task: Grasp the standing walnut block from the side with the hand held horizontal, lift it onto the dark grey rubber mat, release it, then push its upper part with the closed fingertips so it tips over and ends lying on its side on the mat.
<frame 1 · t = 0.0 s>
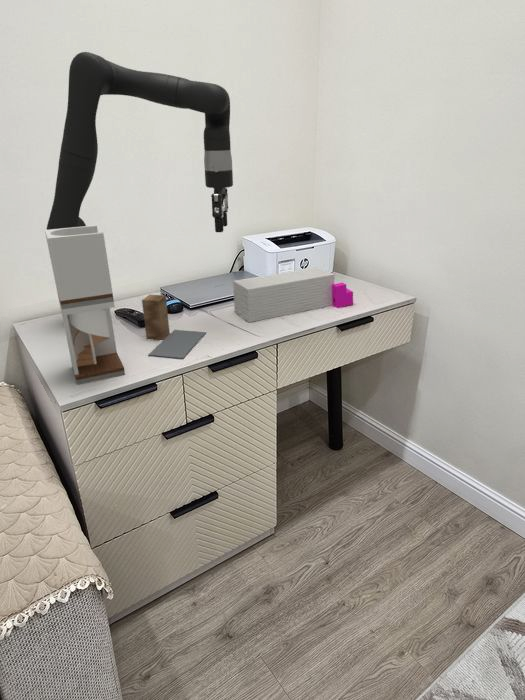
hand: (221, 229, 138), 29 cm above the table, tool pointing down, fingers open, 8 cm apart
walnut block: (158, 336, 143), on the table
toy block: (334, 300, 170), on the table, touching long grey block
rubber mat: (178, 344, 138), on the table
long grey block: (284, 309, 163), on the table, touching toy block
white open-top tower: (98, 371, 123), on the table
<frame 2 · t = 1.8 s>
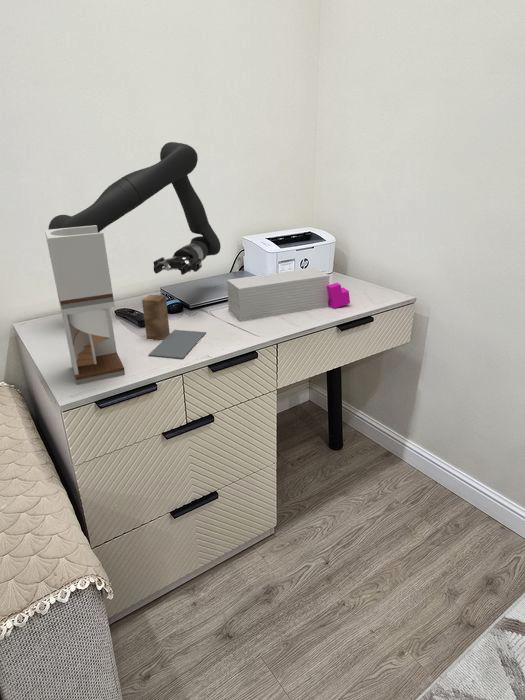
hand: (168, 270, 146), 17 cm above the table, tool horizontal, fingers open, 8 cm apart
toy block: (332, 299, 169), on the table, touching long grey block
long grey block: (278, 309, 163), on the table, touching toy block
everything else where it was.
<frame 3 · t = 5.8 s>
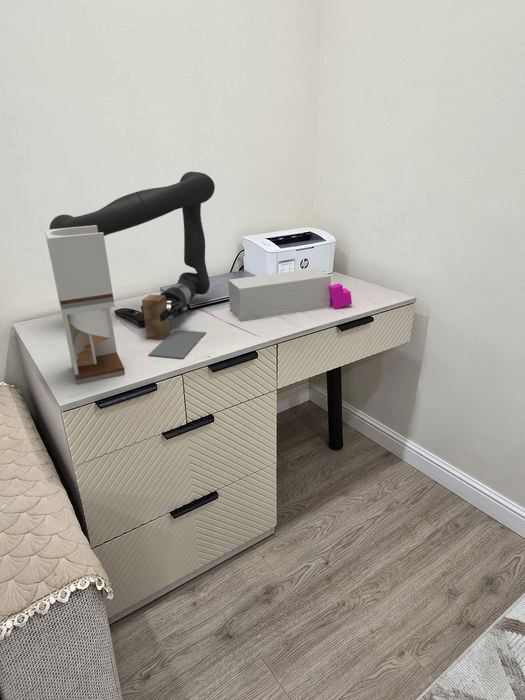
hand: (152, 317, 138), 7 cm above the table, tool horizontal, fingers closed on walnut block, 5 cm apart
walnut block: (158, 336, 143), on the table, touching gripper
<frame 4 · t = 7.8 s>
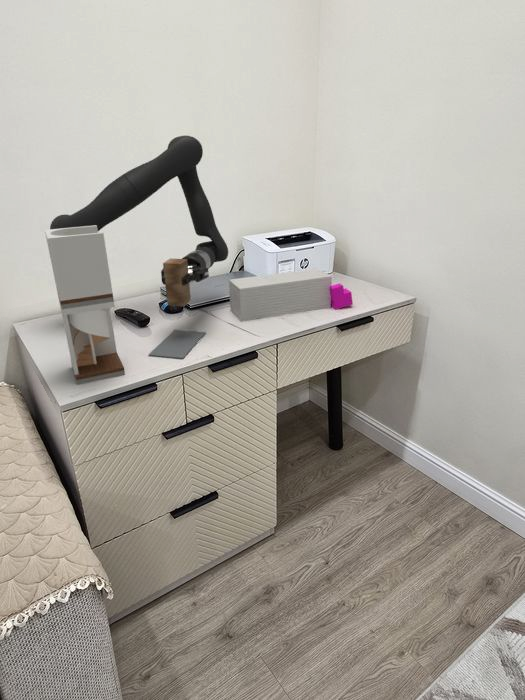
hand: (173, 281, 132), 18 cm above the table, tool horizontal, fingers closed on walnut block, 5 cm apart
walnut block: (179, 302, 137), point 11 cm above the table, touching gripper
when the fingers open (8 cm above the table, at t = 10.1 s): walnut block stays where it is, resting on rubber mat.
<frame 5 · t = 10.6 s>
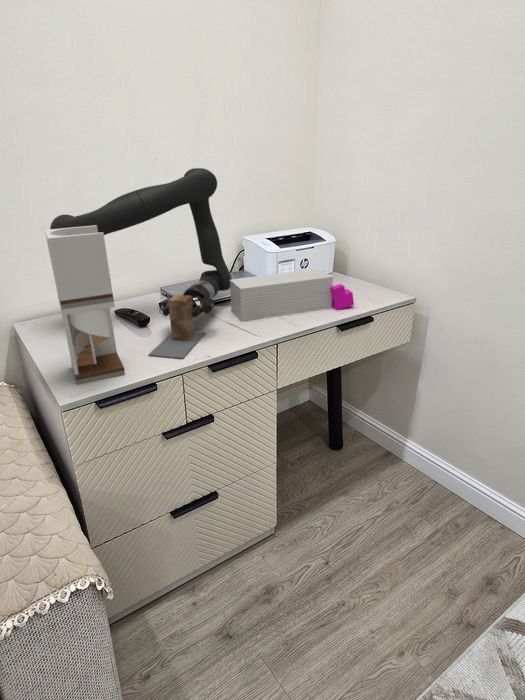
hand: (178, 313, 136), 8 cm above the table, tool horizontal, fingers open, 8 cm apart
walnut block: (183, 337, 141), resting on rubber mat
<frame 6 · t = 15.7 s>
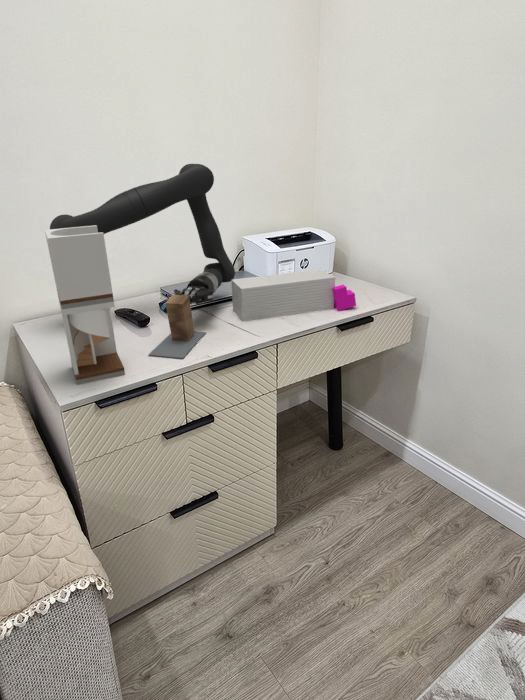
hand: (182, 304, 138), 10 cm above the table, tool horizontal, fingers closed
walnut block: (183, 336, 141), point 1 cm above the table, tilted 9°, touching gripper, rubber mat
toy block: (339, 301, 167), on the table, touching long grey block
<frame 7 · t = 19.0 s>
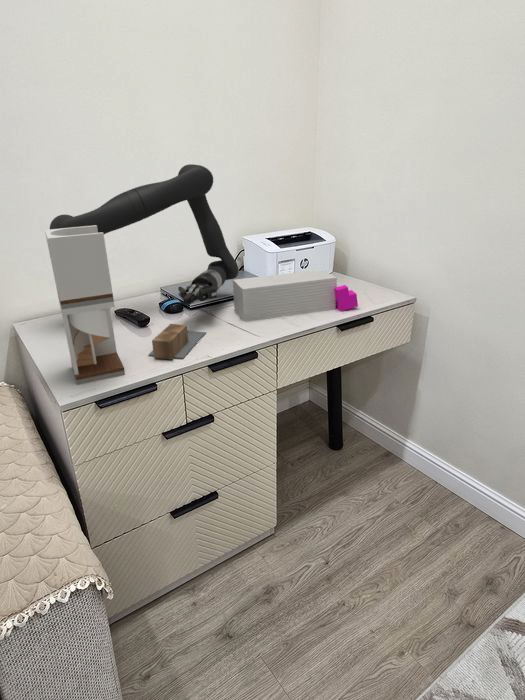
hand: (186, 301, 140), 10 cm above the table, tool horizontal, fingers closed
walnut block: (179, 332, 138), point 3 cm above the table, tilted 90°, touching rubber mat
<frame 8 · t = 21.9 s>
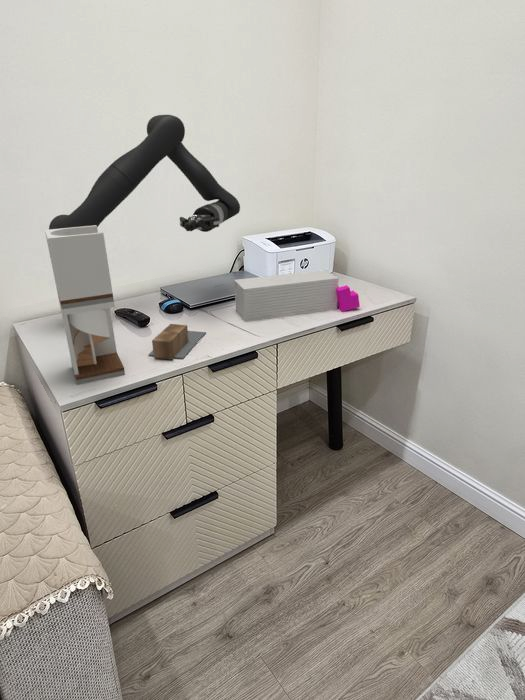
hand: (188, 227, 137), 30 cm above the table, tool horizontal, fingers closed
at the end: walnut block tilted 90°; walnut block inside the target area (3.1 cm from its centre), point 2.9 cm above the table; the gripper is holding nothing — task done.
